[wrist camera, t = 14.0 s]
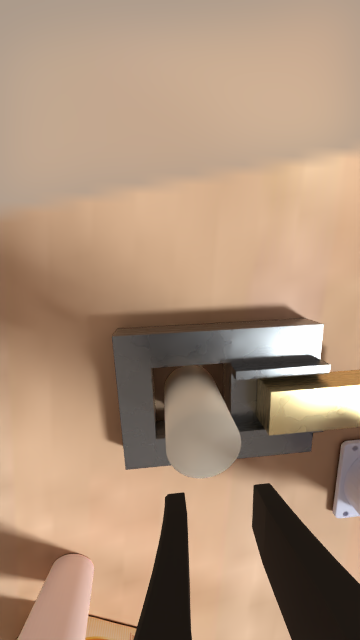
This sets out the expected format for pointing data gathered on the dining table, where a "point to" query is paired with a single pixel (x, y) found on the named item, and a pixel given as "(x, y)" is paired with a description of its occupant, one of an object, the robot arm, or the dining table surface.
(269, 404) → the shunt bar
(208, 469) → the white capsule cylinder
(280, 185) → the dining table surface
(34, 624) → the smoothie
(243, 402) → the jig
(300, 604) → the robot arm
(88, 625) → the coffeecake box
